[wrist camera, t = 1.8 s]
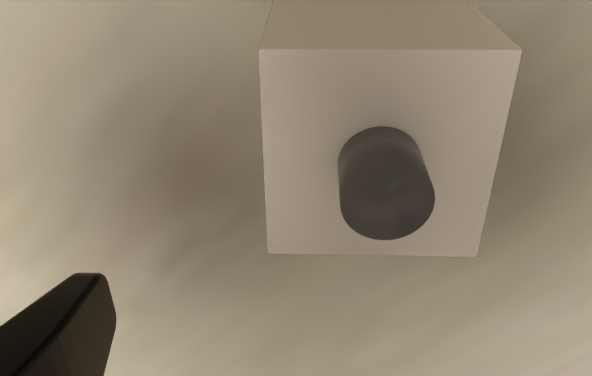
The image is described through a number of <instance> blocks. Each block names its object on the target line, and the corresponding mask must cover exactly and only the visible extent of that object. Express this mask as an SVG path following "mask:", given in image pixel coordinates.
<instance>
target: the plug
mask: <svg viewBox="0 0 592 376" xmlns="http://www.w3.org/2000/svg"><path fill="white" fill-rule="evenodd" d="M258 54H259V76H260V98H261V119H262V141H263V163H264V185H265V207H266V229H267V251H268V254H318V255H382V256H445V257H477V253H478V249H479V244H480V240H481V235H482V231H483V226H484V222H485V217H486V213H487V208H488V204H489V199H490V194H491V190H492V185H493V181H494V176H495V172H496V167H497V163H498V158H499V154H500V149H501V145H502V140H503V136H504V131H505V127H506V122H507V118H508V113H509V109H510V104H511V100H512V95H513V91H514V86H515V82H516V77H517V73H518V68H519V64H520V59H521V55H522V49H521V48H520V47H519V46H518V45H517V44H516V43H514V42H513V41H512V40H511V39H510V38H509V37H508V36H507V35H506V34H505V33H503V32H502V31H501V30H500V29H499V28H498V27H497V26H496V25H495V24H494V23H493V22H491V21H490V20H489V19H488V18H487V17H486V16H485V15H484V14H483V13H482V12H481V11H479V10H478V9H477V8H476V7H475V6H474V5H473V4H472V3H471V2H470V1H469V0H274V1H273V4H272V7H271V10H270V13H269V17H268V20H267V23H266V26H265V29H264V33H263V36H262V39H261V42H260V45H259V48H258Z"/></svg>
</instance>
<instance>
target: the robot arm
mask: <svg viewBox="0 0 592 376" xmlns="http://www.w3.org/2000/svg"><path fill="white" fill-rule="evenodd" d="M115 328H116V312H115V308H114V304H113V300H112V296H111V293H110V289H109V285H108V281H107V279H106V277H105V276H104V275H103V274H101V273H75V274H73V275H71V276H70V277H68V278H67V279H66V280H64V281H63V282H61V283H60V284H59V285H57V286H56V287H54V288H53V289H52V290H50V291H49V292H47V293H46V294H45V295H43V296H42V297H40V298H39V299H38V300H36V301H35V302H33V303H32V304H31V305H29V306H28V307H26V308H25V309H24V310H22V311H21V312H19V313H18V314H17V315H15V316H14V317H12V318H11V319H10V320H8V321H7V322H5V323H4V324H3V325H1V326H0V376H104V372H105V368H106V364H107V360H108V356H109V352H110V348H111V344H112V341H113V337H114V333H115Z"/></svg>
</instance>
